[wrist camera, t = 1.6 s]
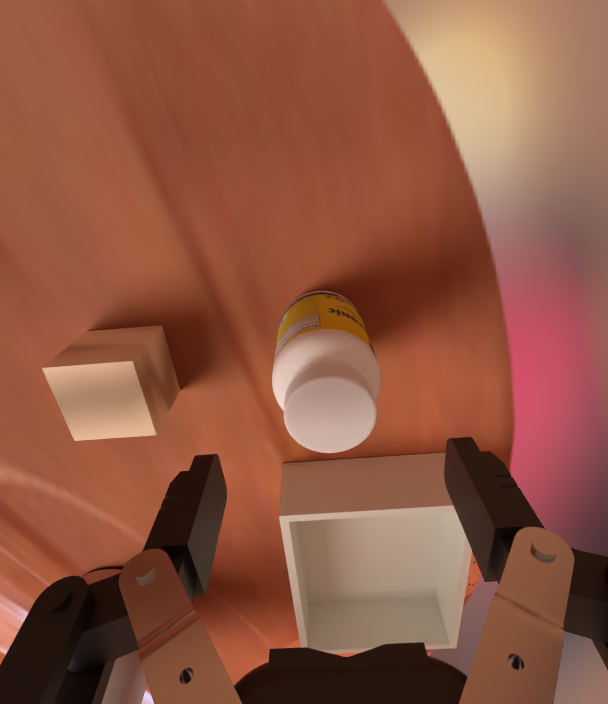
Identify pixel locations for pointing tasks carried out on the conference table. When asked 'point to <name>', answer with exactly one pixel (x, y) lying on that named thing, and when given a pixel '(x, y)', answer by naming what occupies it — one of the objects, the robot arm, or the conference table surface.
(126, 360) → the birch cube
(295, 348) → the supplement bottle
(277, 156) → the conference table surface
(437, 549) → the box
